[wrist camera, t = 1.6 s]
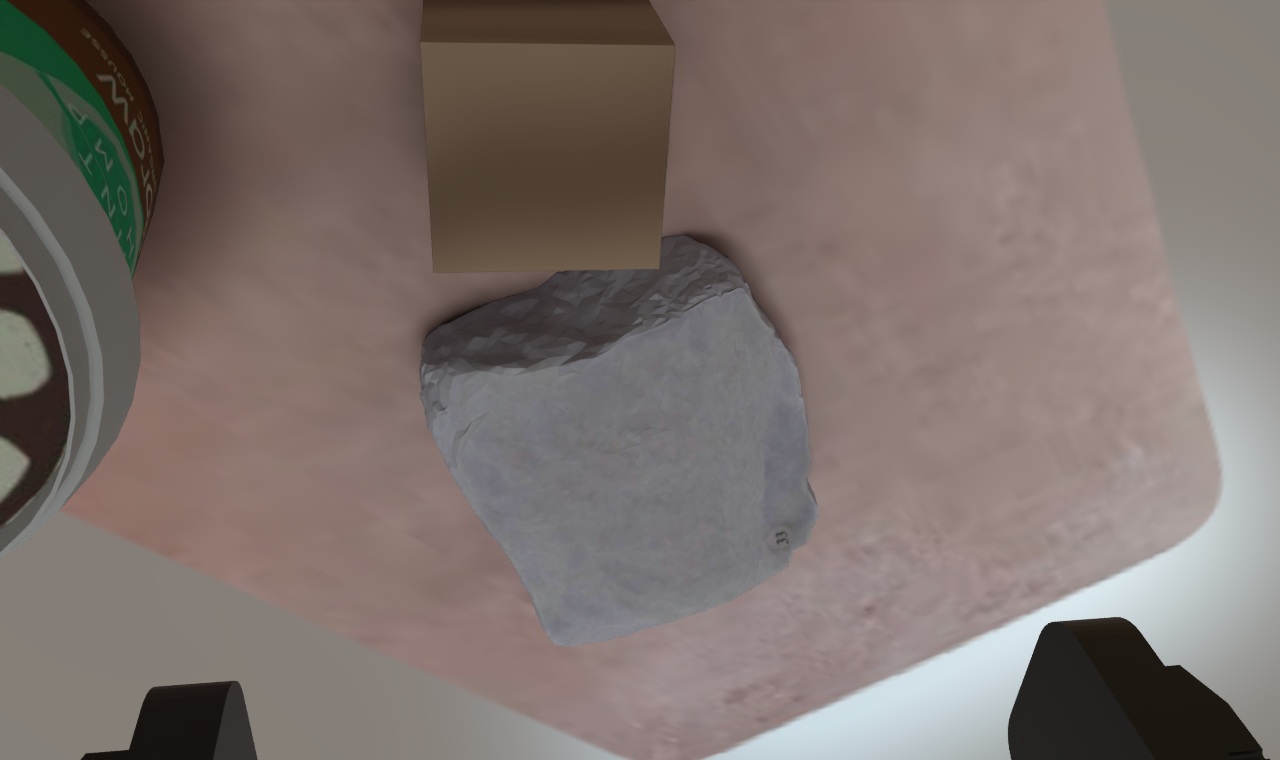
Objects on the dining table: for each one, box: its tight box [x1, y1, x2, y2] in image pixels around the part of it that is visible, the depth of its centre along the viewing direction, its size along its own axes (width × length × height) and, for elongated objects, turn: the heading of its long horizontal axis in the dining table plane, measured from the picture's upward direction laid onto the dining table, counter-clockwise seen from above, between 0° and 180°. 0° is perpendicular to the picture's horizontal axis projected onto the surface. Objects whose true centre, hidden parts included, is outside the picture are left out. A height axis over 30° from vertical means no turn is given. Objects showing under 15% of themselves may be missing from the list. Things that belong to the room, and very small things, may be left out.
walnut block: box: [420, 0, 675, 273], centre depth 24 cm, size 5×5×5 cm
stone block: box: [420, 235, 818, 647], centre depth 32 cm, size 12×5×10 cm
